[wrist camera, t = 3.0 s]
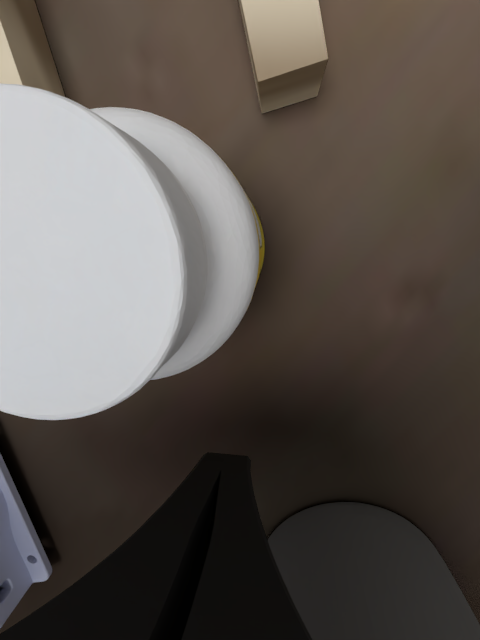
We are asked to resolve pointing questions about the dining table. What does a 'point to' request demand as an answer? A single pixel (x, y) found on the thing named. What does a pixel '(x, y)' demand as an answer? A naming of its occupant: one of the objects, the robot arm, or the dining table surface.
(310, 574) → the mug
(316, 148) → the dining table surface
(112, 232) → the supplement bottle
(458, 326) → the dining table surface
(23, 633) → the robot arm
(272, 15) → the can dock
